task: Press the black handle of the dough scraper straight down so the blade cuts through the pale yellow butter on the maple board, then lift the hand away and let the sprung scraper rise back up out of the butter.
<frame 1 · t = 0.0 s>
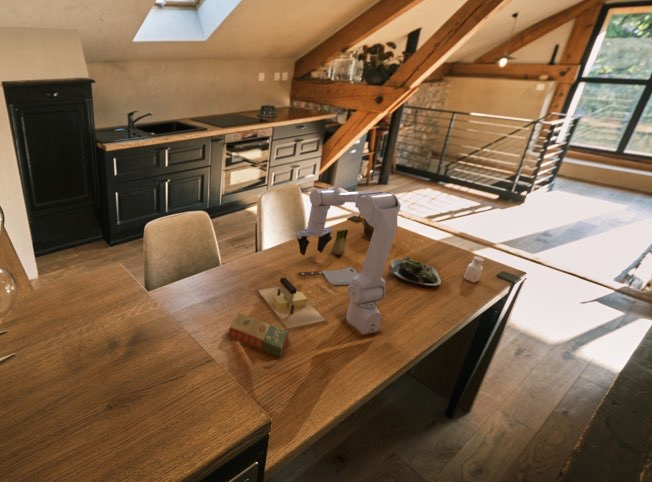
hand: (311, 252, 144), 10 cm above the table, tool pointing down, fingers open, 7 cm apart
butter block: (294, 303, 130), resting on board
pepper shaker: (470, 279, 148), on the table
board: (289, 306, 130), on the table
butter slice: (279, 306, 129), point 1 cm above the table, touching board
kitchen cleaver: (330, 278, 147), on the table
carton: (257, 340, 116), on the table
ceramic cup: (368, 236, 179), on the table
salad plate: (413, 275, 150), on the table
dough scraper: (287, 290, 127), point 7 cm above the table, slide at 0.1 cm
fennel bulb: (337, 254, 163), on the table
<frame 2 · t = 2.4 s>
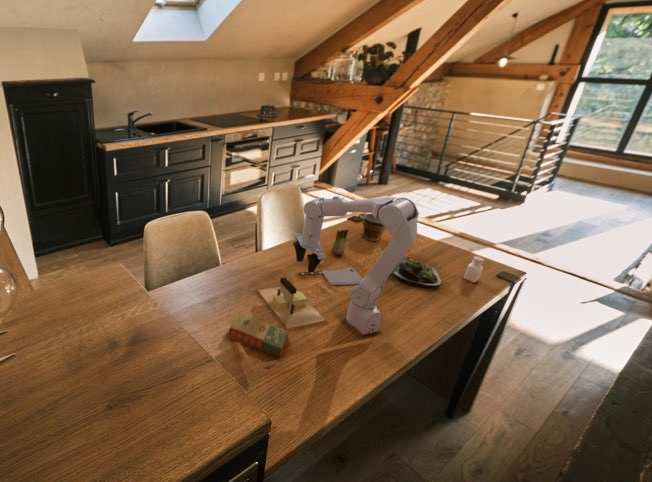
hand: (305, 266, 135), 10 cm above the table, tool pointing down, fingers open, 6 cm apart
nothing on the table moved.
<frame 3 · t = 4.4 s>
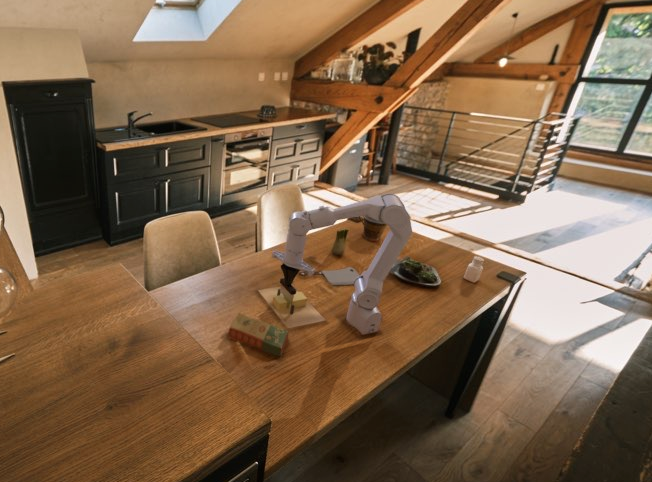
hand: (288, 284, 126), 10 cm above the table, tool pointing down, fingers closed, pressing on dough scraper
dough scraper: (287, 291, 127), point 7 cm above the table, slide at -0.2 cm, touching gripper
everything else where it was.
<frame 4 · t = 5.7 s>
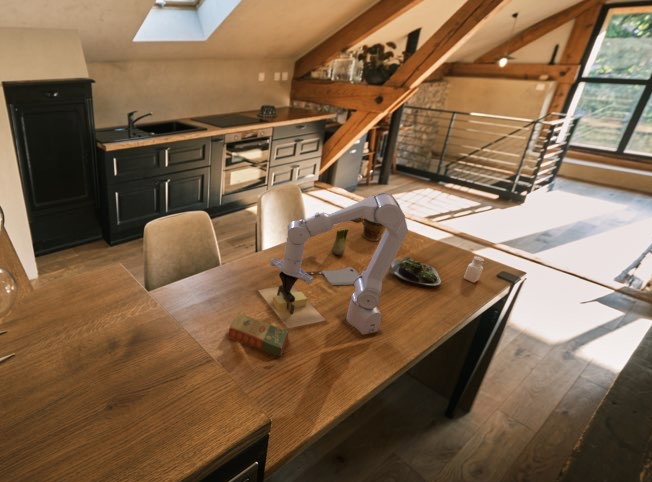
hand: (286, 291, 127), 7 cm above the table, tool pointing down, fingers closed, pressing on dough scraper
dough scraper: (285, 298, 128), point 4 cm above the table, slide at -3.2 cm, touching gripper
everything else where it was.
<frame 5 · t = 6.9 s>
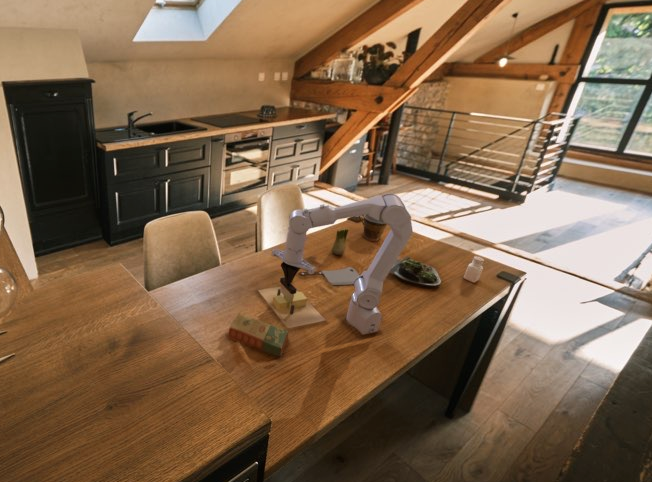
hand: (288, 282, 126), 10 cm above the table, tool pointing down, fingers closed
dough scraper: (287, 290, 127), point 7 cm above the table, slide at 0.1 cm
everything else where it was.
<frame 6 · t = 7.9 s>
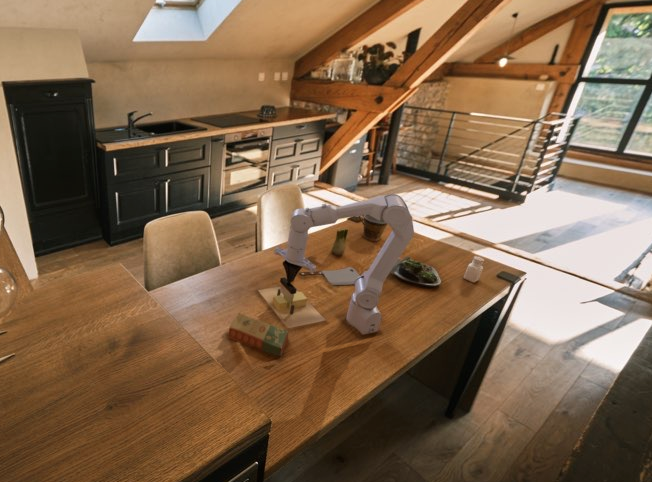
hand: (290, 280, 127), 10 cm above the table, tool pointing down, fingers closed
nothing on the table moved.
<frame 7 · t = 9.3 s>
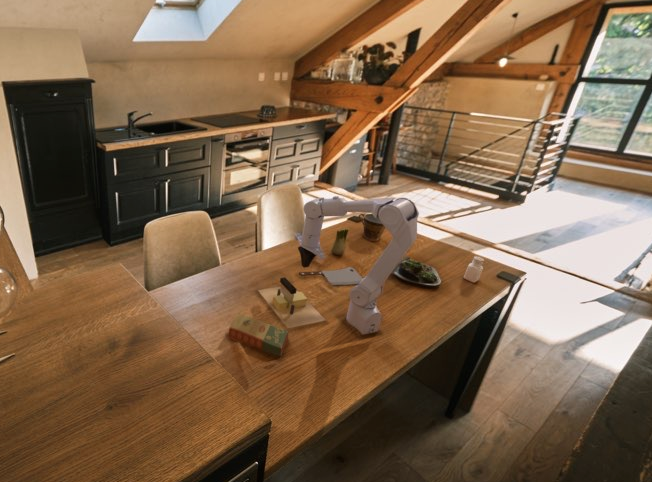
hand: (305, 266, 135), 10 cm above the table, tool pointing down, fingers closed
nothing on the table moved.
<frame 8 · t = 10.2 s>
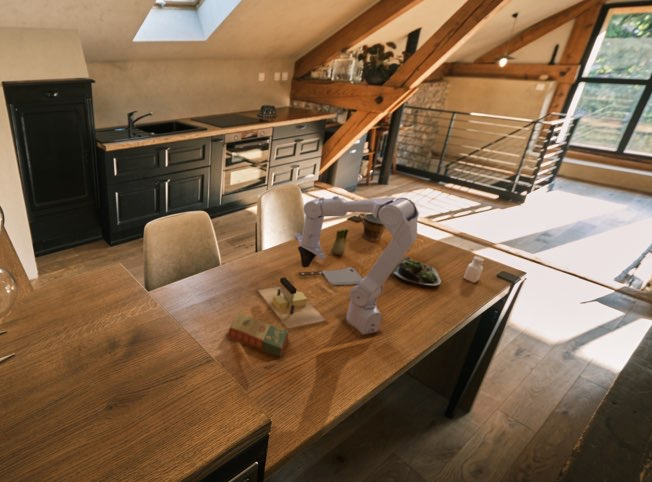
hand: (305, 266, 135), 10 cm above the table, tool pointing down, fingers closed
nothing on the table moved.
at the end: dough scraper pushed in 3.2 cm at the most during the clip, back to where it started at the end; dough scraper slide at 0.1 cm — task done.
